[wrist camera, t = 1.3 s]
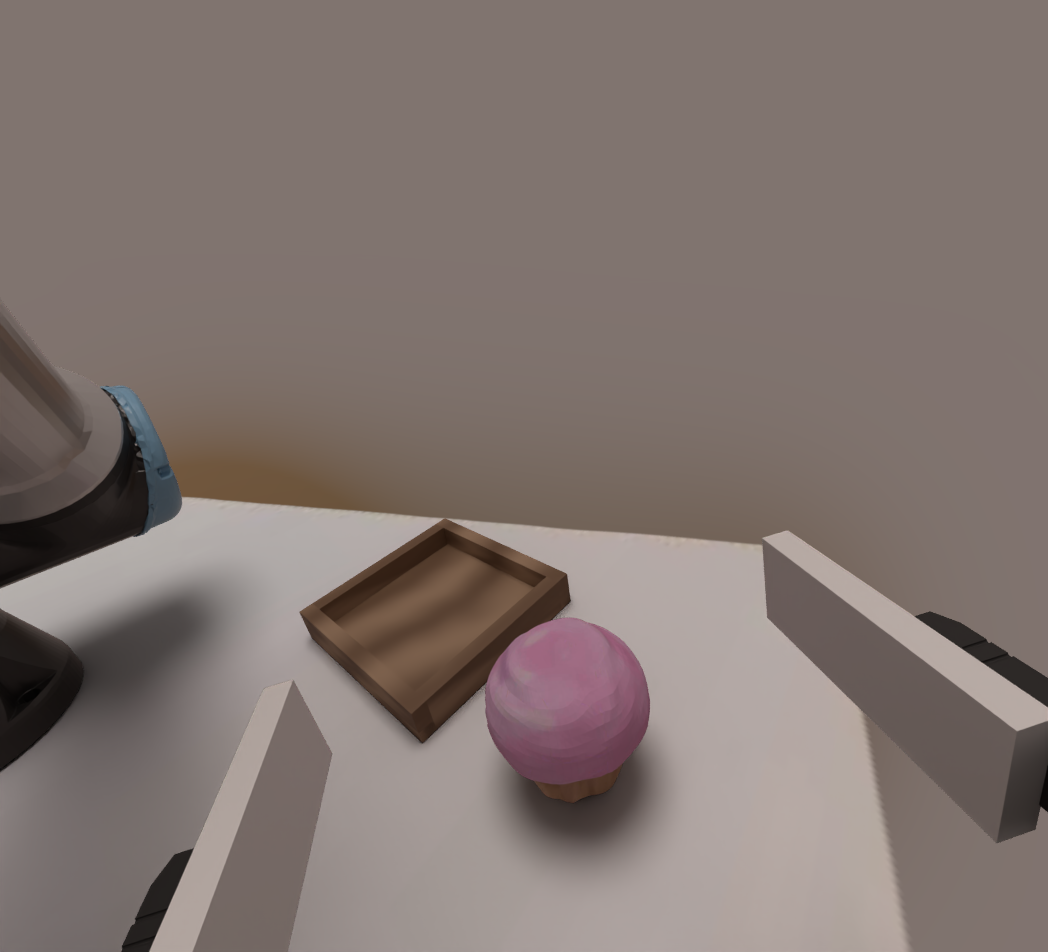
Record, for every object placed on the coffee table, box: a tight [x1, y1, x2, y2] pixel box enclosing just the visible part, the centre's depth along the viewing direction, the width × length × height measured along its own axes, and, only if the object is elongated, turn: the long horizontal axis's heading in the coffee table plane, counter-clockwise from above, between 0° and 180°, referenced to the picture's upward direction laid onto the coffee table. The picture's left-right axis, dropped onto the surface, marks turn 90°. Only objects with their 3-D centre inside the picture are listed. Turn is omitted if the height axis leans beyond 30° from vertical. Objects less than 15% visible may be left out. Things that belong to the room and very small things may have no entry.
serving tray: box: [300, 519, 571, 743], centre depth 43 cm, size 16×16×3 cm
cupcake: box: [485, 618, 650, 803], centre depth 28 cm, size 9×9×10 cm
